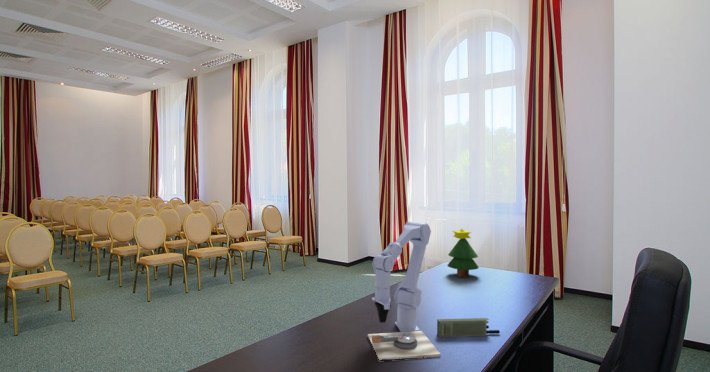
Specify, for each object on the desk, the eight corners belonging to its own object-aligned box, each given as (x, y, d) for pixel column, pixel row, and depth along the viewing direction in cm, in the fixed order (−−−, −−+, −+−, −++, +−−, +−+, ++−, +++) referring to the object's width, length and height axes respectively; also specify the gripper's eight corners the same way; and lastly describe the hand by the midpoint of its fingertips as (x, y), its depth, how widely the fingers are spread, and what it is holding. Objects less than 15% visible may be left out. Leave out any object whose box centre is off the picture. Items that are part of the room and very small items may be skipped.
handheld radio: (436, 334, 151) (497, 332, 153) (438, 338, 148) (500, 336, 149) (436, 318, 151) (497, 316, 152) (439, 321, 148) (501, 320, 149)
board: (367, 336, 148) (367, 330, 148) (421, 333, 152) (421, 327, 152) (379, 361, 128) (379, 354, 128) (440, 356, 132) (440, 349, 132)
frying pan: (370, 337, 141) (370, 333, 141) (411, 335, 143) (411, 330, 143) (374, 346, 134) (374, 341, 134) (417, 343, 136) (417, 338, 136)
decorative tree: (484, 279, 231) (484, 230, 230) (454, 280, 229) (454, 231, 228) (470, 271, 250) (470, 226, 249) (442, 272, 248) (443, 226, 247)
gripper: (368, 281, 151) (368, 315, 151) (376, 292, 137) (376, 329, 137) (385, 281, 152) (385, 314, 152) (395, 291, 138) (395, 328, 138)
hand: (382, 321), depth 145 cm, fingers closed
